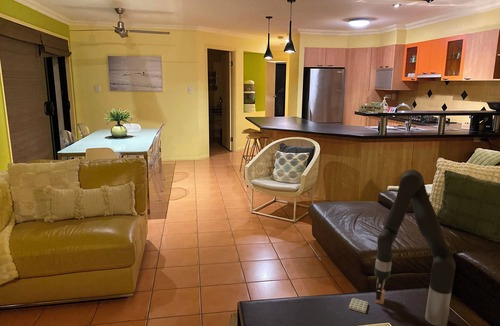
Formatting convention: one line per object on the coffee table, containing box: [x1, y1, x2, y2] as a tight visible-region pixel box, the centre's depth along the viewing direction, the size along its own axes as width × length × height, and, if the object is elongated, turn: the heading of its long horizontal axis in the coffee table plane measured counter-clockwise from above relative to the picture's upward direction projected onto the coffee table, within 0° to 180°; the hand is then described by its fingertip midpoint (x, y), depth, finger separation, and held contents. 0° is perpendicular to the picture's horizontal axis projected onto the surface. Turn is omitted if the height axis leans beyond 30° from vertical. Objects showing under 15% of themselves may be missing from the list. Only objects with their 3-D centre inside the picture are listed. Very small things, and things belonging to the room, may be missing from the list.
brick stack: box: [374, 288, 386, 305], centre depth 186 cm, size 4×4×6 cm
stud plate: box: [348, 297, 369, 314], centre depth 182 cm, size 8×8×2 cm
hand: (379, 295), depth 186 cm, fingers open, 8 cm apart
